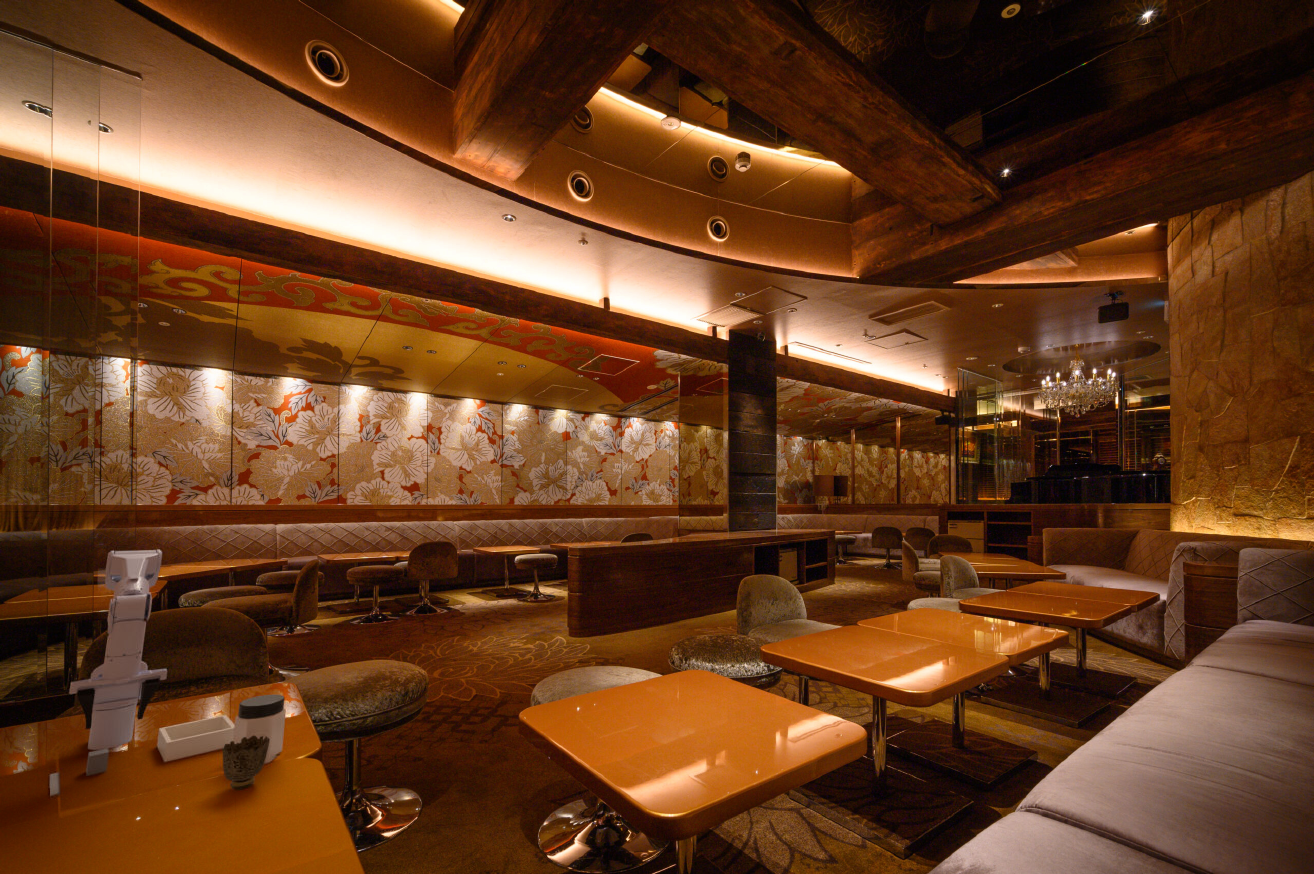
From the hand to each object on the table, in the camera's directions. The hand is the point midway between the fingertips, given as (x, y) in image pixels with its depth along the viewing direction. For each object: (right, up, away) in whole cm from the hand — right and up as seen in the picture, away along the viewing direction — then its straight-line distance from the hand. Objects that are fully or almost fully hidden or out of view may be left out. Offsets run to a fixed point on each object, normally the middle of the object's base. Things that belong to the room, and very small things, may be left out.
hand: (114, 722), depth 115 cm
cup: (+32, -9, -8) cm, 34 cm away
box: (+9, -11, +10) cm, 17 cm away
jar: (+26, -10, +5) cm, 28 cm away
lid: (-1, -10, -3) cm, 10 cm away
